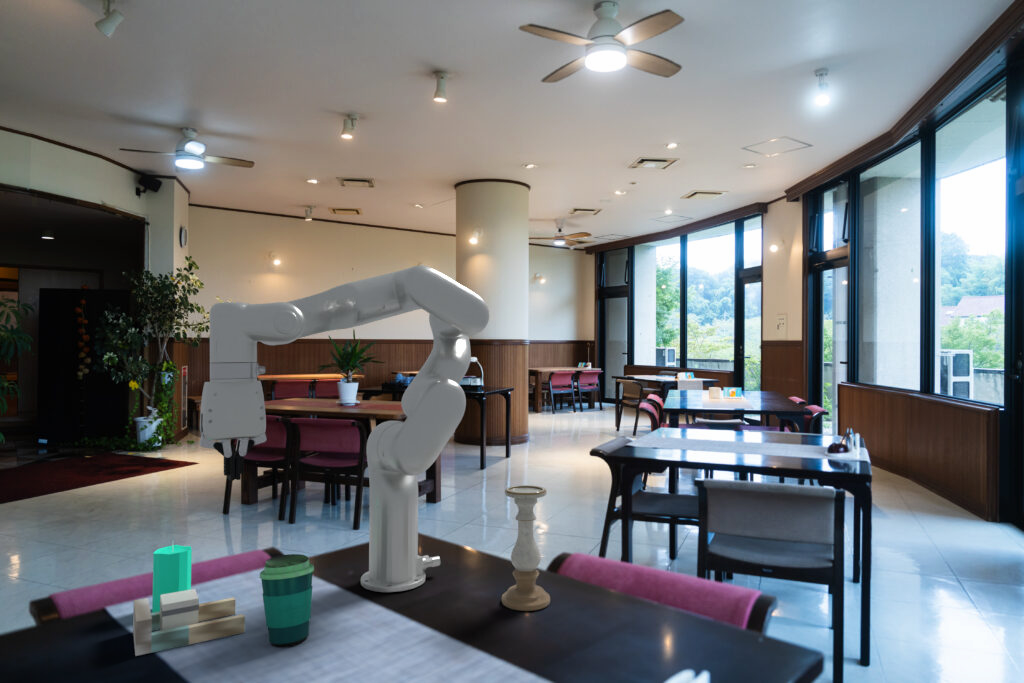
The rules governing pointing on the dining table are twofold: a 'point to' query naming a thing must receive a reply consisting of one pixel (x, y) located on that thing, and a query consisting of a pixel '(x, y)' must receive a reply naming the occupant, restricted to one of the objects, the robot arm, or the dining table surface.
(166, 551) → the candle
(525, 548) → the candle holder
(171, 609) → the striped cream block
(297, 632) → the cup
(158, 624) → the guide channel
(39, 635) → the dining table surface
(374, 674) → the dining table surface
